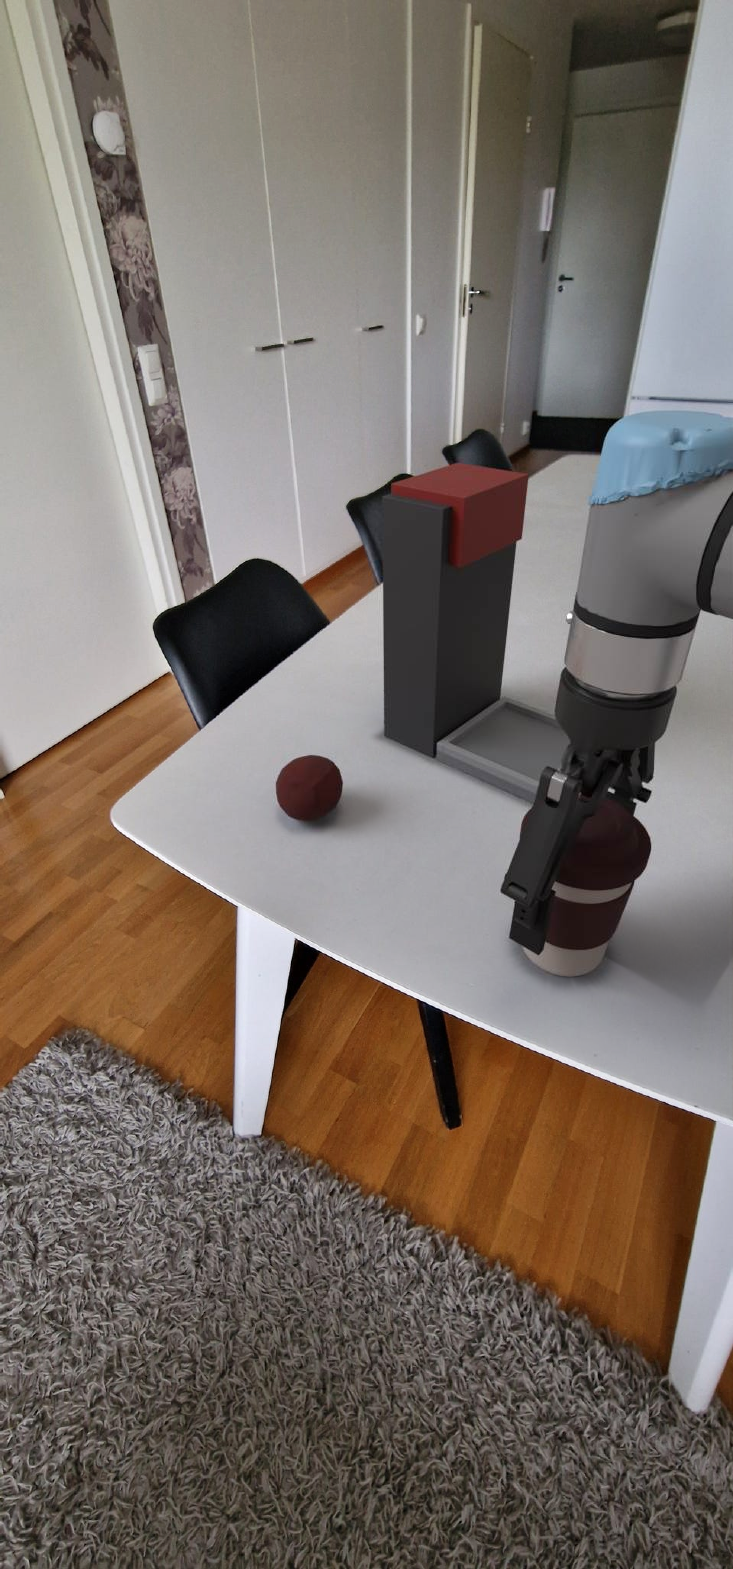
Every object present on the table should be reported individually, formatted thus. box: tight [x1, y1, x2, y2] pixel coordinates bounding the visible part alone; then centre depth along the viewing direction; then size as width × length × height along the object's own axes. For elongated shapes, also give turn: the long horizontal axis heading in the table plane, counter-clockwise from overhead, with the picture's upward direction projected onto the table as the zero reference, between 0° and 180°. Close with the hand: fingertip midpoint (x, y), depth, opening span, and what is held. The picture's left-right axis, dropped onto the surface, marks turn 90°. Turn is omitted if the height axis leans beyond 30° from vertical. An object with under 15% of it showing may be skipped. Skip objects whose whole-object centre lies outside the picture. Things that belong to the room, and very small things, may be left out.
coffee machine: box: [381, 462, 571, 804], centre depth 81 cm, size 24×15×31 cm, turn 49°
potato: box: [275, 754, 344, 822], centre depth 77 cm, size 7×8×7 cm
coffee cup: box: [519, 795, 652, 977], centre depth 59 cm, size 10×10×15 cm
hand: (568, 896), depth 60 cm, fingers open, 13 cm apart
